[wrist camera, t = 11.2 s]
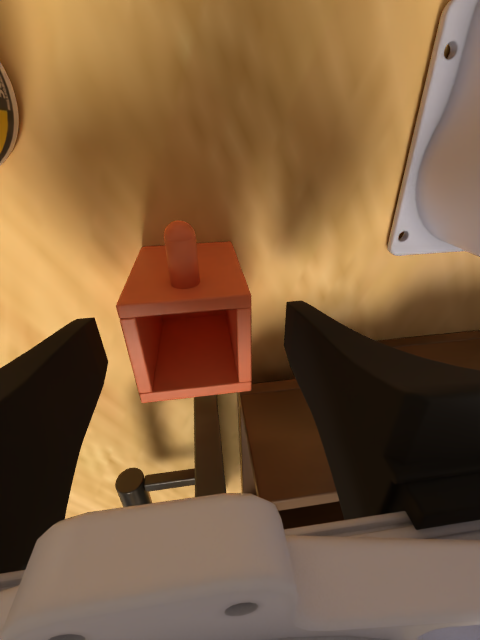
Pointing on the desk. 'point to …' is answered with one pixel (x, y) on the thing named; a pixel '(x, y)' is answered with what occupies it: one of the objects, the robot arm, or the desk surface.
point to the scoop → (187, 318)
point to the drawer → (255, 457)
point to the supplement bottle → (7, 116)
